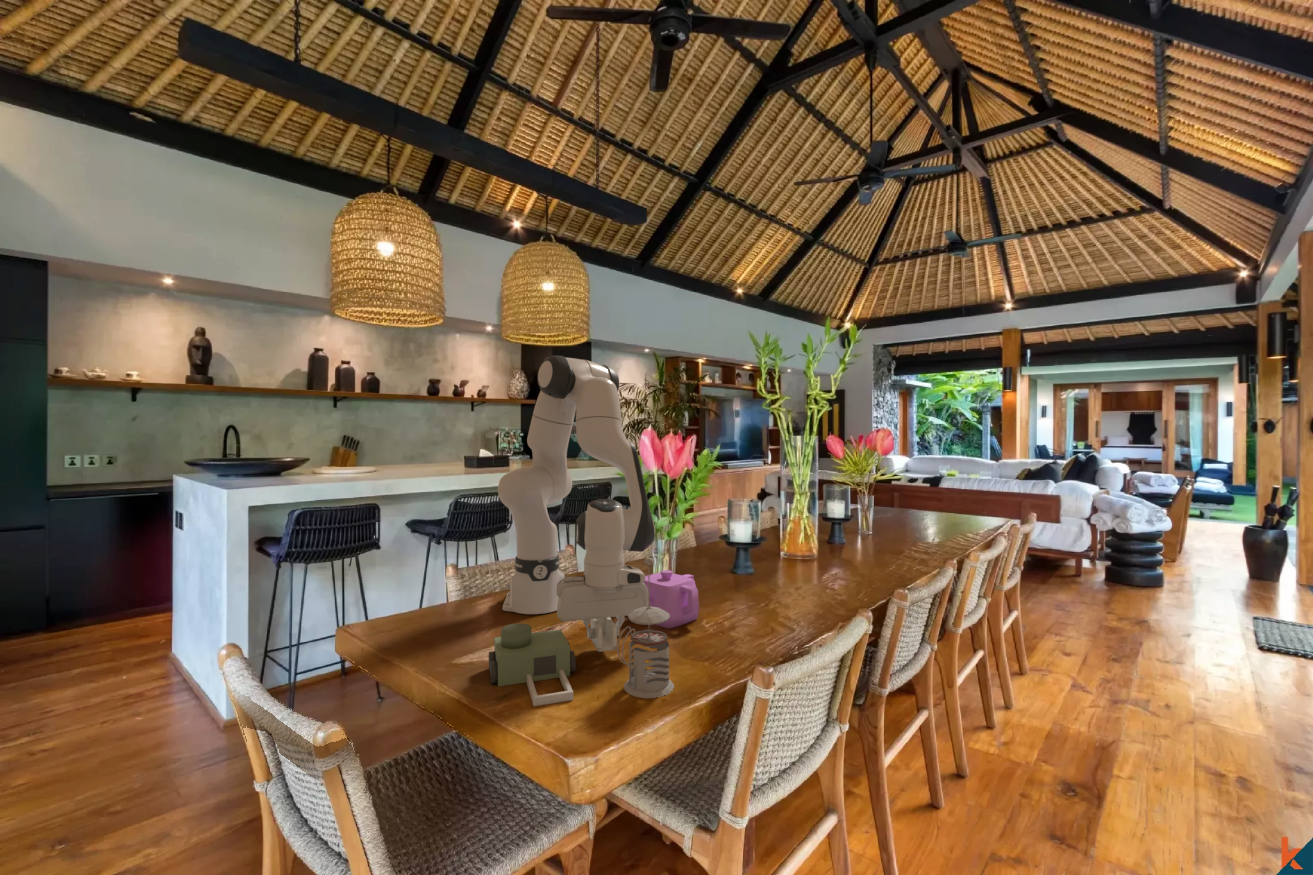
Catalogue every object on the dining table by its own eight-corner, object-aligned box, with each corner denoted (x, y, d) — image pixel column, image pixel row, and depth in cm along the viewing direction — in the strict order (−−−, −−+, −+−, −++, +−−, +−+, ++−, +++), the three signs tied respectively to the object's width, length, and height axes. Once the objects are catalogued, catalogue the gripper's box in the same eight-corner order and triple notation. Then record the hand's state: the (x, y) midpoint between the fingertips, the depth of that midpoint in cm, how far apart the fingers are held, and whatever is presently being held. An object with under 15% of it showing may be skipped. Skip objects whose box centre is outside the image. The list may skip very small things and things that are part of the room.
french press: (684, 688, 109) (685, 559, 109) (633, 706, 103) (633, 567, 102) (655, 670, 117) (655, 549, 117) (606, 685, 111) (606, 557, 110)
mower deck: (488, 666, 119) (488, 623, 119) (566, 655, 125) (566, 615, 125) (495, 712, 100) (495, 661, 100) (587, 697, 106) (587, 649, 106)
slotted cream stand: (590, 638, 129) (590, 616, 129) (607, 636, 130) (608, 614, 130) (598, 651, 122) (598, 628, 121) (616, 649, 123) (616, 626, 123)
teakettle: (701, 629, 141) (701, 579, 141) (632, 629, 141) (632, 579, 141) (696, 607, 158) (696, 563, 158) (634, 607, 158) (635, 563, 158)
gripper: (558, 581, 119) (558, 647, 120) (652, 574, 126) (651, 636, 126) (554, 573, 125) (553, 636, 126) (643, 567, 132) (642, 626, 132)
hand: (603, 636), depth 126 cm, fingers closed on slotted cream stand, 4 cm apart
